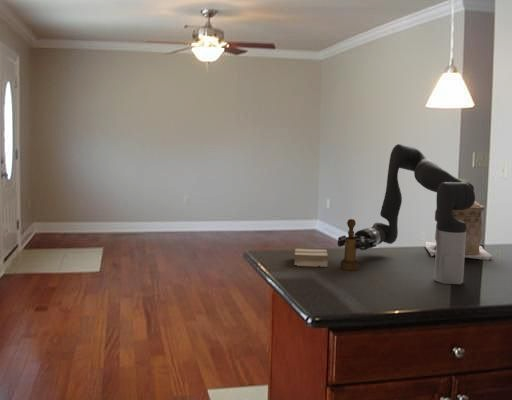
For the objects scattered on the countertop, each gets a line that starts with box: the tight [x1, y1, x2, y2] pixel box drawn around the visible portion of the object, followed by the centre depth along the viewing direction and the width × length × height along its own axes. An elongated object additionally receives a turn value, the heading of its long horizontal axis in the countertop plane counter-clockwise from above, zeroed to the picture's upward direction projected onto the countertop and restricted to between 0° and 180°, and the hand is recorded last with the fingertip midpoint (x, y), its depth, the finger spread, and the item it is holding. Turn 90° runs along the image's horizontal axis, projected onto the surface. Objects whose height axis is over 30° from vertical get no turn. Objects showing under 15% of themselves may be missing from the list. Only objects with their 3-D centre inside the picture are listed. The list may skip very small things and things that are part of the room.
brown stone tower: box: [424, 178, 493, 261], centre depth 241 cm, size 25×25×32 cm
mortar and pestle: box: [340, 218, 360, 271], centre depth 209 cm, size 7×6×18 cm
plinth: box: [293, 247, 329, 268], centre depth 218 cm, size 12×12×4 cm
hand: (347, 244), depth 207 cm, fingers open, 6 cm apart
